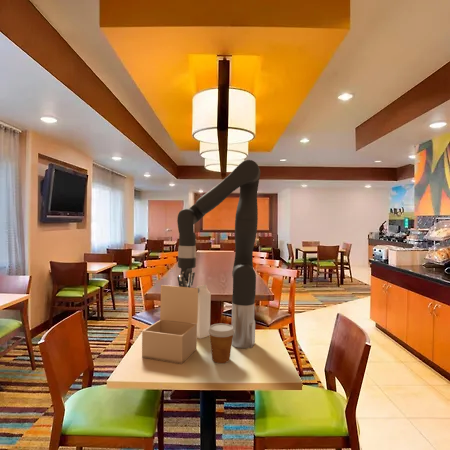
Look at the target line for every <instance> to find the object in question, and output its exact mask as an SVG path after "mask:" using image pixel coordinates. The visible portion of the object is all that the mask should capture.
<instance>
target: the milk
mask: <svg viewBox="0 0 450 450" xmlns="http://www.w3.org/2000/svg"><path fill="white" fill-rule="evenodd" d="M207 287H208V286H207V284H202V285H197V286H195V288H199V293H198V319H197V338H198V339H199V340H200V339H203V338H206V337H210V334H209V331H208V330H209V329H210V326H211V300H212V299H211V297H212V296H211V292H210V291H209V290H208V289H209V288H207ZM192 324H194V323H192Z"/></svg>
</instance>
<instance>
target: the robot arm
mask: <svg viewBox="0 0 450 450" xmlns="http://www.w3.org/2000/svg"><path fill="white" fill-rule="evenodd" d="M260 177H261V169H260V166H259V165H258V163H257V162H256V161H255V160H252V159H245V160H242V161H241V162H239V164H238V165H237V166H236V167H235V168H234V169H233V170H232V171H231V172H230V173H229V174H228V175H227V176H226V177H225V178H224V179H223V180H221V182H219V183H217V185H215V186H214V187H213V188H211V189H209V190H208V191H207V192H206V193H204V194H203V195H202V196H200V197H199V198H198V199H197V200H195V203H194V204H193V205H191V206H190V207H188V208H183V209H181V210H180V211H179V212H178V213H177V218H176V219H177V221H176V222H177V223H176V224H177V228H178V231H177V232H178V234H179V235H178V248H177V267H178V268H179V269H180V273H179V274H180V275H178V276H177V281H178V286H179V287H191V288H192V286H193V284H194V280H195V274H196V272H194V271H193V269H195V268H196V266H197V265H196V264H197V263H196V262H197V248H196V247H197V246H196V243H197V242H196V235H197V234H196V233H195V231H194V228H195V227H194V225H195V224H197V223H198V222H200V220H202V218H204V217H205V216H206V214H208V213H210V212H211V211H212V210H214V209H215V208H216V207H218V206H220V204H222V203H223V201H225V199H227V198H228V197H229V196H230V195H231V194H232V193H233V192H234V191H236V190H237V189H239V198H238V202H237V205H236V212H235V220H234V243H235V245H234V246H235V247H234V249H235V255H234V261H233V268H232V273H231V274H232V275H231V276H232V296H231V297H232V298H231V326H233V329H234V334H233V338H232V345H231V346H232V347H234V348H239V349H252V348H253V347H254V346H255V343H256V320H255V300H256V293H257V292H256V291H257V274H256V271H255V269H254V263H253V262H254V261H253V260H254V259H253V258H254V257H253V255H254V247H255V243H256V238H257V234H258V223H259V222H258V221H259V220H258V219H259V218H258V215H259V212H258V210H259V209H258V190H259V183H260Z"/></svg>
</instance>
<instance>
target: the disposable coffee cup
mask: <svg viewBox="0 0 450 450" xmlns="http://www.w3.org/2000/svg"><path fill="white" fill-rule="evenodd" d="M208 331H209V334H210V336H209V340H210V349H211V350H210V351H211V359H212V362H214V363H218V364H225V363H228V362H230V358H231V350H232V346H233V345H232V338H233V334H234V329H233V326H232V324H229V323H214V324H210V329H209V330H208Z"/></svg>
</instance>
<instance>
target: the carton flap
mask: <svg viewBox="0 0 450 450" xmlns="http://www.w3.org/2000/svg"><path fill="white" fill-rule="evenodd" d="M198 293H199V288H196V287H192V286H191V287H179V285H177V286H175V285H168V284H166V285H165V284H161V285H160V306H159V307H160V311H159V312H160V314H159V315H160V316H159V320H166V321H175V322H183V323H194V324H197V319H198Z"/></svg>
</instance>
